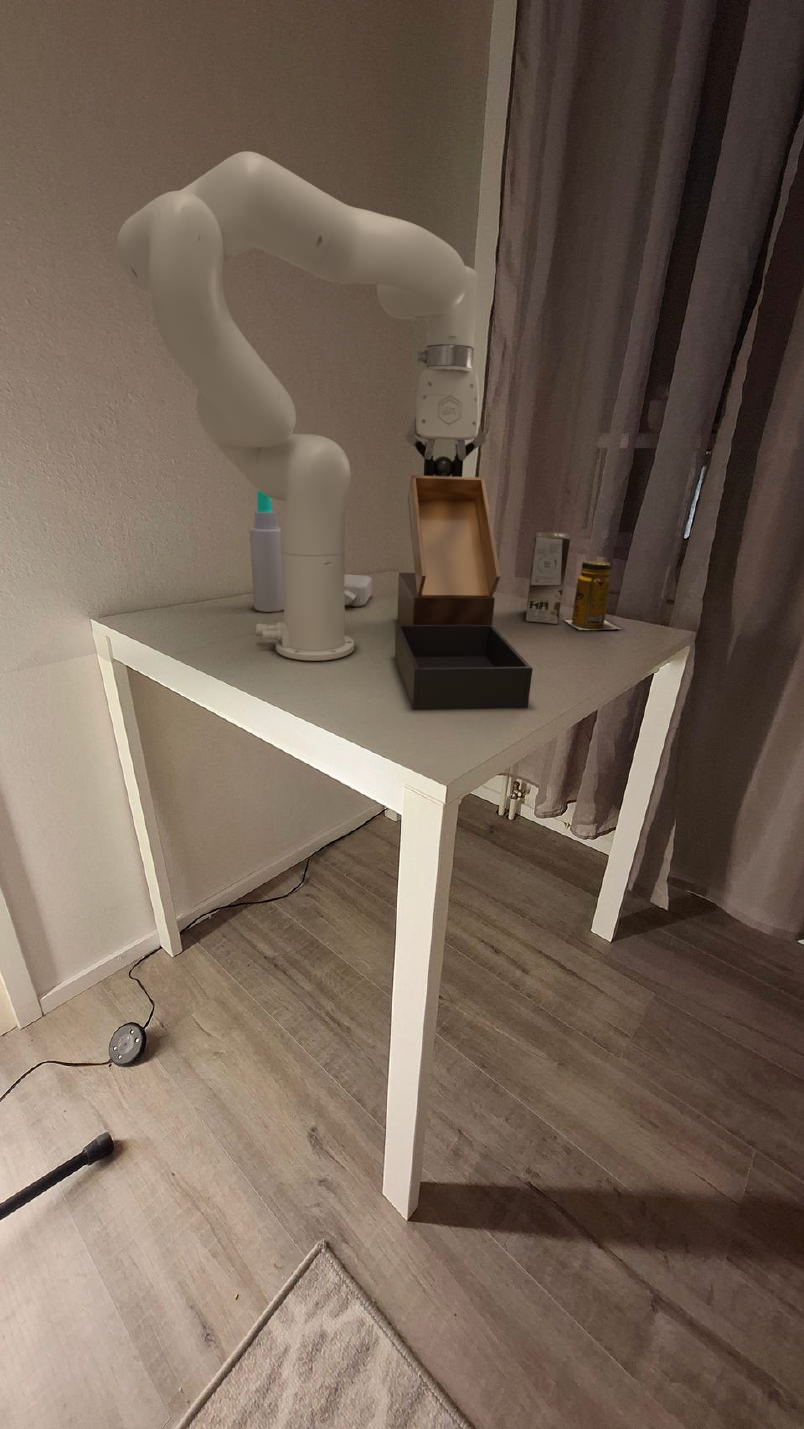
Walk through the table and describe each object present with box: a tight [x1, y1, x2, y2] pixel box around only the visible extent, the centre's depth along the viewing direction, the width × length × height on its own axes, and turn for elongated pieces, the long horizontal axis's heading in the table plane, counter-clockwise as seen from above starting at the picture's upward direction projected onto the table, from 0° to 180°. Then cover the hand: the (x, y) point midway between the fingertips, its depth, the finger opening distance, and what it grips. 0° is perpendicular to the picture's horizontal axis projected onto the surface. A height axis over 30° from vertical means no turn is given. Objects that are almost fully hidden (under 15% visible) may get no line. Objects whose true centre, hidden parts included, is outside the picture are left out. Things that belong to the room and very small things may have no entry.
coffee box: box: [525, 531, 571, 625], centre depth 120 cm, size 9×6×16 cm
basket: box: [394, 624, 534, 711], centre depth 87 cm, size 15×20×6 cm
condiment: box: [564, 560, 622, 631], centre depth 117 cm, size 7×8×12 cm
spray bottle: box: [248, 490, 284, 613], centre depth 117 cm, size 6×6×22 cm
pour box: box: [407, 455, 501, 598], centre depth 100 cm, size 12×26×5 cm
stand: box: [396, 572, 496, 625], centre depth 108 cm, size 13×20×9 cm, turn 7°
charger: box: [345, 573, 373, 608], centre depth 127 cm, size 5×9×15 cm
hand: (442, 483), depth 105 cm, fingers closed on pour box, 3 cm apart
